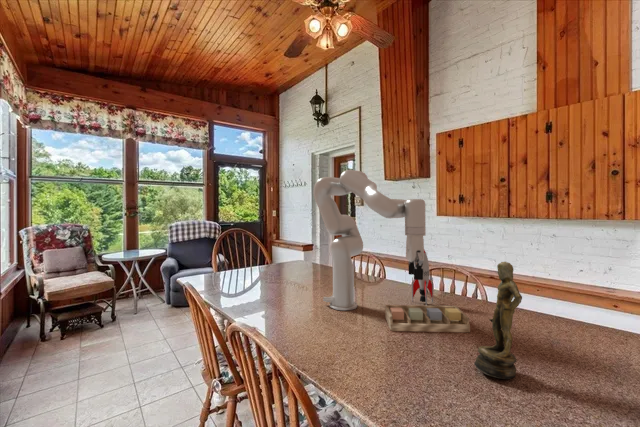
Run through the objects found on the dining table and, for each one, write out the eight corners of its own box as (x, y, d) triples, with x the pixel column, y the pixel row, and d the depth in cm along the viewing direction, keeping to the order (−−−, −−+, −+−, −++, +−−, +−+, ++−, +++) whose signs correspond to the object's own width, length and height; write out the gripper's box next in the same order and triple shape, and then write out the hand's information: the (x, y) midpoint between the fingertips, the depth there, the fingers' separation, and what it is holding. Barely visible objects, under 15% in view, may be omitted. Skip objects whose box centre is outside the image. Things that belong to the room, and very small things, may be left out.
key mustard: (449, 320, 115) (449, 312, 115) (445, 316, 120) (445, 308, 120) (461, 320, 115) (461, 312, 115) (456, 316, 119) (456, 308, 119)
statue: (466, 365, 87) (467, 260, 87) (503, 363, 88) (504, 259, 88) (491, 387, 77) (491, 267, 76) (532, 385, 78) (533, 266, 77)
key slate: (429, 319, 116) (429, 311, 116) (426, 315, 120) (426, 308, 120) (441, 320, 115) (441, 312, 115) (438, 315, 120) (438, 308, 120)
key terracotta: (392, 319, 117) (392, 311, 117) (390, 315, 121) (390, 307, 121) (403, 319, 116) (403, 311, 116) (401, 315, 121) (401, 307, 121)
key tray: (390, 330, 112) (390, 317, 112) (385, 317, 126) (385, 304, 126) (470, 332, 110) (470, 318, 110) (455, 318, 124) (455, 305, 124)
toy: (432, 302, 145) (432, 238, 145) (437, 308, 137) (437, 240, 136) (411, 301, 146) (411, 238, 146) (415, 307, 138) (415, 240, 137)
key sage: (410, 319, 116) (410, 311, 116) (408, 315, 121) (408, 307, 121) (422, 319, 116) (422, 311, 116) (419, 315, 120) (419, 308, 120)
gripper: (400, 229, 127) (401, 272, 127) (410, 233, 109) (410, 282, 110) (419, 229, 126) (419, 272, 126) (431, 233, 109) (432, 282, 109)
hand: (415, 276), depth 118 cm, fingers open, 8 cm apart
